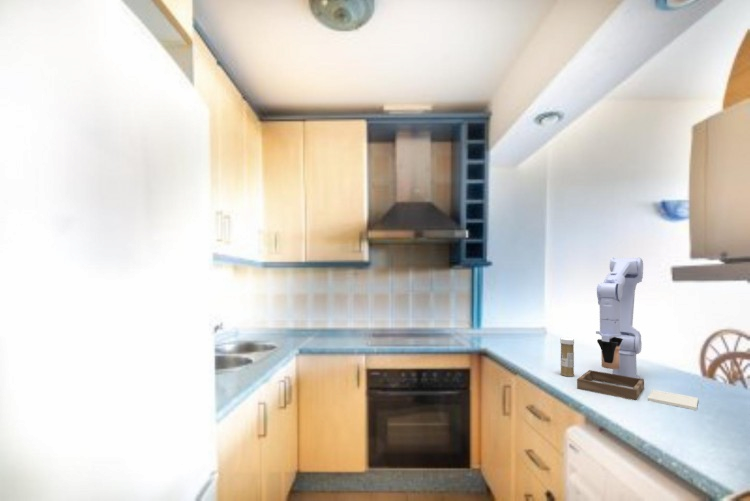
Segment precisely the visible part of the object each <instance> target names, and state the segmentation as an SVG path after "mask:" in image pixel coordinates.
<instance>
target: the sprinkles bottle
mask: <svg viewBox="0 0 750 501" xmlns="http://www.w3.org/2000/svg"><path fill="white" fill-rule="evenodd" d="M559 340H560V341H559V343H560V375H561V376H564V377H575V373H574V372H575V369H574V367H575V352H574V346H575V345H574V344H575V339H574V338H572V337H560V339H559Z"/></svg>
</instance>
